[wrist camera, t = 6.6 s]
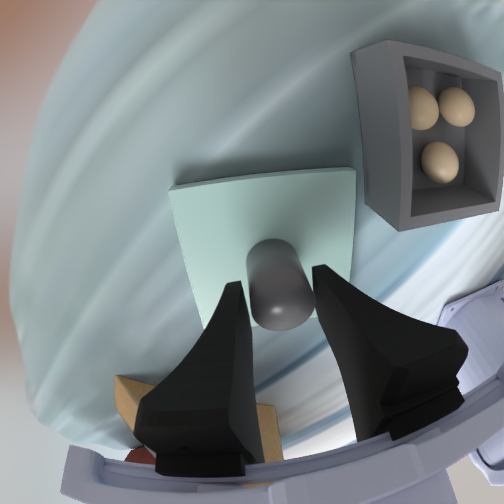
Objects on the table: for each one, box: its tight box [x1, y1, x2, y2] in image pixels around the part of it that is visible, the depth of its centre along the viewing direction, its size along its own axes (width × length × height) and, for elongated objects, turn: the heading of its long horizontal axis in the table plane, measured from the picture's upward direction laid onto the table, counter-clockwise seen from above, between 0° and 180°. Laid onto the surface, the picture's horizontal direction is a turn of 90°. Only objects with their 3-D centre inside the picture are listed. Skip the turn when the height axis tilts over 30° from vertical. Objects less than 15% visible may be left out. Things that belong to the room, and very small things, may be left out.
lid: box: [168, 167, 356, 331], centre depth 13 cm, size 9×9×5 cm
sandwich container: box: [114, 375, 284, 488], centre depth 16 cm, size 9×15×15 cm, turn 69°
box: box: [350, 40, 504, 232], centre depth 10 cm, size 8×8×4 cm
